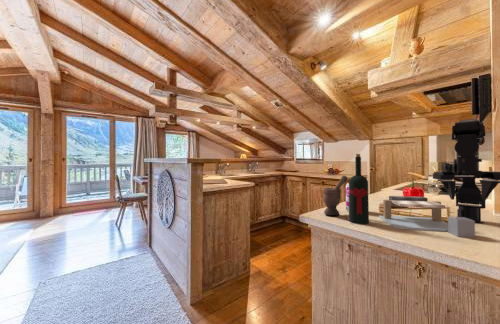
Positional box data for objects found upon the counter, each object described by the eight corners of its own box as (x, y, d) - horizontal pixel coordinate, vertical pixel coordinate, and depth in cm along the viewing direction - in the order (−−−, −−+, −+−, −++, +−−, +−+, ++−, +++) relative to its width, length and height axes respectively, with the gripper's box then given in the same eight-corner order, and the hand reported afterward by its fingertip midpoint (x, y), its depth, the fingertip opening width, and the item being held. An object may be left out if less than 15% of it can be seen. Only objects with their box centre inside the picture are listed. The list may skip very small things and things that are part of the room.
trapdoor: (425, 204, 101) (425, 196, 101) (445, 211, 87) (445, 202, 87) (386, 203, 105) (386, 195, 105) (399, 209, 91) (399, 200, 91)
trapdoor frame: (434, 219, 100) (434, 199, 100) (465, 232, 82) (464, 208, 82) (379, 217, 105) (378, 198, 105) (395, 228, 87) (395, 205, 87)
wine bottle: (349, 224, 93) (348, 153, 93) (348, 218, 102) (348, 154, 103) (370, 226, 90) (369, 153, 90) (367, 220, 99) (367, 154, 100)
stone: (464, 233, 81) (464, 217, 81) (474, 238, 76) (474, 220, 76) (448, 232, 82) (448, 216, 82) (457, 237, 77) (457, 219, 77)
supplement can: (355, 213, 113) (355, 184, 113) (342, 210, 120) (342, 183, 120) (366, 212, 116) (366, 183, 116) (353, 209, 123) (353, 182, 124)
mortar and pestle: (346, 213, 114) (346, 174, 114) (348, 217, 106) (348, 175, 106) (323, 211, 118) (322, 174, 118) (323, 215, 109) (322, 175, 110)
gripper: (482, 156, 84) (482, 196, 84) (425, 157, 89) (425, 195, 89) (508, 155, 73) (508, 202, 73) (441, 156, 78) (441, 200, 78)
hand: (467, 199), depth 78 cm, fingers open, 9 cm apart
